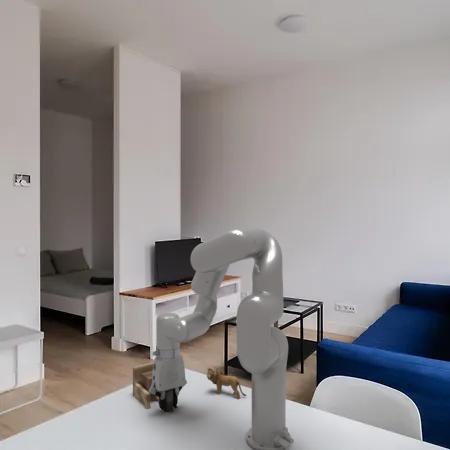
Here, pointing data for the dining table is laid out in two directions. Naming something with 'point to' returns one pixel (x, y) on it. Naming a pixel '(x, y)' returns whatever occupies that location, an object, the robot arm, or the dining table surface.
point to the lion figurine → (223, 381)
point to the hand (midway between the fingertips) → (168, 407)
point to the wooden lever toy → (168, 393)
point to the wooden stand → (137, 384)
